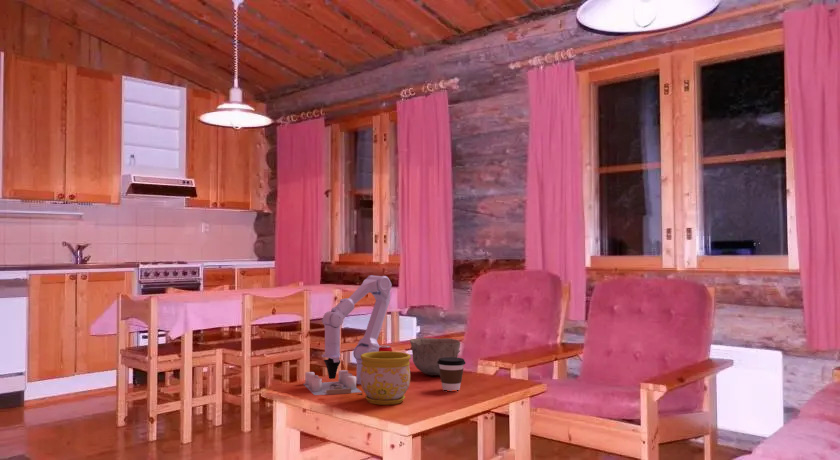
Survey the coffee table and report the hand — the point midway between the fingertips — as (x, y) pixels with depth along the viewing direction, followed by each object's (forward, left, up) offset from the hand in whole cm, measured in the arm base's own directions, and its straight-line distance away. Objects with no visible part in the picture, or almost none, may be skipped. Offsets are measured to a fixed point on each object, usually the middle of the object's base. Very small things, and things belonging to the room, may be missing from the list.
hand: (332, 378), depth 255 cm
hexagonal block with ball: (0, +8, -4) cm, 9 cm away
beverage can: (-30, -27, -5) cm, 41 cm away
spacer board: (0, 0, -5) cm, 5 cm away
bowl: (-50, -18, -5) cm, 53 cm away
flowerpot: (-14, +24, -5) cm, 28 cm away
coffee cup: (-44, +14, -5) cm, 46 cm away
